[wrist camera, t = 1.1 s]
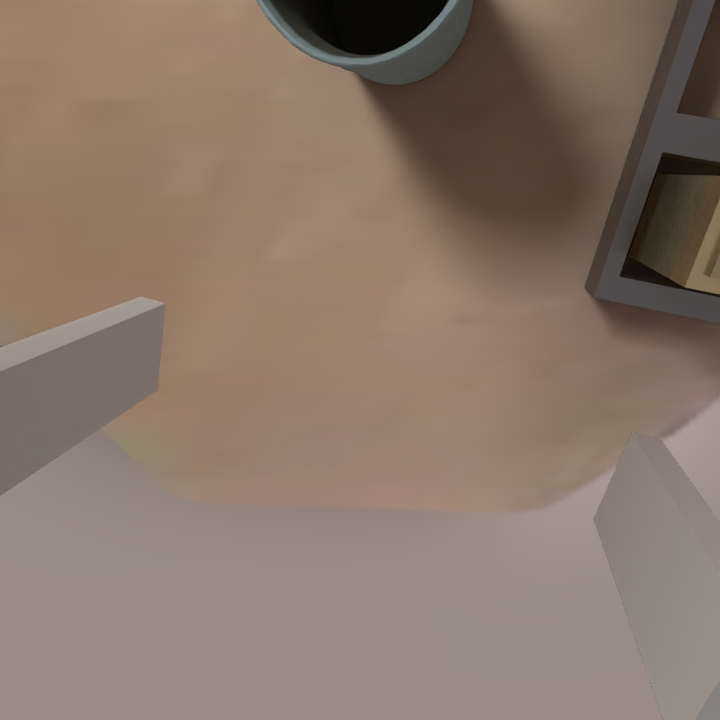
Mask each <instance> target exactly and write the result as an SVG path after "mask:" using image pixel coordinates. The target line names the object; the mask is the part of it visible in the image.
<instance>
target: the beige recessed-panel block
mask: <svg viewBox="0 0 720 720" xmlns="http://www.w3.org/2000/svg"><path fill="white" fill-rule="evenodd" d="M629 256H630V257H632V258H633V259H635V260H637V261H639V262H641V263H642V264H644V265H646V266H648V267H650V268H651V269H653V270H655V271H657V272H658V273H660V274H662V275H664V276H666V277H667V278H669V279H671V280H673V281H674V282H676V283H678V284H680V285H682V286H683V287H686V288H691V289H696V290H701V291H705V292H710V293H715V294H720V176H709V175H674V174H657V177H656V180H655V183H654V186H653V189H652V191H651V194H650V197H649V200H648V203H647V206H646V208H645V211H644V214H643V217H642V220H641V223H640V226H639V228H638V231H637V234H636V237H635V240H634V243H633V246H632V248H631V251H630V254H629Z"/></svg>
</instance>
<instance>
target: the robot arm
mask: <svg viewBox="0 0 720 720" xmlns="http://www.w3.org/2000/svg"><path fill="white" fill-rule="evenodd" d="M165 304H166V303H162V302H158V301H155V300H151V299H148V298H144V297H139V298H136V299H133V300H130V301H128V302H125V303H122V304H119V305H117V306H114V307H111V308H108V309H105V310H103V311H100V312H97V313H94V314H92V315H89V316H86V317H83V318H81V319H78V320H75V321H72V322H69V323H67V324H64V325H61V326H58V327H56V328H53V329H50V330H47V331H45V332H42V333H39V334H36V335H33V336H31V337H28V338H25V339H22V340H20V341H17V342H14V343H11V344H9V345H6V346H1V347H0V496H1V495H2V494H3V493H5V492H6V491H8V490H10V489H11V488H13V487H14V486H16V485H17V484H18V483H20V482H21V481H23V480H24V479H26V478H27V477H29V476H30V475H32V474H33V473H35V472H36V471H38V470H39V469H41V468H42V467H44V466H45V465H47V464H48V463H50V462H51V461H53V460H54V459H56V458H57V457H59V456H60V455H61V454H63V453H64V452H66V451H67V450H69V449H70V448H72V447H73V446H75V445H76V444H78V443H79V442H81V441H82V440H84V439H85V438H87V437H88V436H90V435H91V434H93V433H94V432H96V431H97V430H99V429H100V428H102V427H103V426H105V425H106V424H108V423H109V422H111V421H112V420H114V419H115V418H116V417H118V416H119V415H121V414H122V413H124V412H125V411H127V410H128V409H130V408H131V407H133V406H134V405H136V404H137V403H139V402H140V401H142V400H143V399H145V398H146V397H148V396H149V395H151V394H152V393H154V392H155V391H157V388H158V378H159V367H160V356H161V346H162V335H163V325H164V314H165ZM594 522H595V525H596V528H597V530H598V533H599V536H600V539H601V542H602V545H603V548H604V551H605V554H606V556H607V559H608V562H609V565H610V568H611V571H612V574H613V577H614V580H615V583H616V585H617V588H618V591H619V594H620V597H621V600H622V603H623V605H624V608H625V611H626V614H627V617H628V620H629V623H630V626H631V629H632V632H633V635H634V637H635V640H636V643H637V646H638V649H639V652H640V655H641V658H642V660H643V663H644V666H645V669H646V672H647V675H648V678H649V681H650V684H651V687H652V689H653V692H654V695H655V698H656V701H657V704H658V707H659V710H660V712H661V716H662V718H663V720H720V522H719V521H718V519H717V518H716V516H715V515H714V514H713V512H712V511H711V509H710V508H709V506H708V505H707V504H706V502H705V501H704V499H703V498H702V496H701V495H700V494H699V492H698V491H697V489H696V488H695V487H694V485H693V484H692V482H691V481H690V480H689V478H688V477H687V475H686V474H685V473H684V471H683V470H682V468H681V467H680V465H679V464H678V463H677V461H676V460H675V458H674V457H673V456H672V454H671V453H670V451H669V450H668V448H667V447H666V446H665V444H664V443H663V441H661V440H658V439H654V438H651V437H647V436H643V435H640V434H636V433H631V435H630V438H629V440H628V442H627V445H626V447H625V449H624V451H623V454H622V456H621V458H620V460H619V463H618V465H617V467H616V469H615V472H614V474H613V476H612V479H611V481H610V483H609V485H608V487H607V490H606V492H605V495H604V497H603V499H602V501H601V504H600V506H599V508H598V510H597V512H596V515H595V517H594Z"/></svg>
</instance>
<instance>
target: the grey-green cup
mask: <svg viewBox="0 0 720 720" xmlns="http://www.w3.org/2000/svg"><path fill="white" fill-rule="evenodd" d="M256 1H257V2H258V4H259V6H260V8H261V9H262V11H263V12H264V14H265V15H266V17H267V18H268V20H269V21H270V22H271V23H272V24H273V25H274V27H275V28H276V29H277V30H278V31H279V32H280V33H281V34H282V35H283V36H284V38H286V39H287V40H288V41H289V42H290V43H291V44H292V45H293V46H295V47H296V48H298V49H299V50H301V51H302V52H304V53H305V54H307V55H309V56H311V57H313V58H315V59H317V60H320V61H322V62H325V63H328V64H331V65H334V66H339V67H341V68H343V69H345V70H348V71H352V72H357V73H358V74H359V75H361V76H362V77H364V78H367V79H369V80H372V81H375V82H378V83H382V84H387V85H404V84H409V83H414V82H417V81H419V80H422V79H424V78H426V77H428V76H429V75H431V74H433V73H434V72H436V71H437V70H439V69H440V68H441V67H442V66H443V65H444V64H445V63H446V62H447V61H448V60H449V59H450V58H451V57H452V55H453V54H454V52H455V51H456V50H457V48H458V46H459V45H460V43H461V41H462V40H463V37H464V35H465V33H466V30H467V28H468V24H469V21H470V17H471V12H472V7H473V0H256Z"/></svg>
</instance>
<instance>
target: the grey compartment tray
mask: <svg viewBox="0 0 720 720" xmlns="http://www.w3.org/2000/svg"><path fill="white" fill-rule="evenodd" d="M714 3H715V0H679V1H678V4H677V7H676V10H675V13H674V16H673V19H672V22H671V25H670V28H669V31H668V34H667V37H666V41H665V44H664V47H663V50H662V53H661V56H660V59H659V62H658V65H657V68H656V71H655V74H654V77H653V80H652V83H651V86H650V89H649V92H648V95H647V98H646V101H645V105H644V108H643V111H642V114H641V117H640V120H639V123H638V126H637V129H636V132H635V135H634V138H633V141H632V144H631V147H630V150H629V153H628V156H627V159H626V162H625V166H624V169H623V172H622V175H621V178H620V181H619V184H618V187H617V190H616V193H615V196H614V199H613V202H612V205H611V208H610V211H609V214H608V217H607V220H606V223H605V226H604V230H603V233H602V236H601V239H600V242H599V245H598V248H597V251H596V254H595V257H594V260H593V263H592V266H591V269H590V272H589V275H588V278H587V281H586V284H585V289H586V290H587V291H588V292H589V293H590V294H591V295H592V296H593V297H595V298H599V299H604V300H609V301H614V302H618V303H623V304H628V305H633V306H637V307H642V308H647V309H651V310H656V311H661V312H666V313H670V314H675V315H680V316H685V317H689V318H694V319H699V320H704V321H708V322H713V323H718V324H720V294H715V293H710V292H705V291H701V290H696V289H691V288H686V287H683V286H682V285H680V284H678V283H676V282H673V281H668V280H663V279H658V278H653V277H648V276H644V275H639V274H634V273H629V272H624V271H621V270H622V267H623V264H624V261H625V258H626V255H627V253H628V250H629V247H630V244H631V241H632V238H633V235H634V232H635V230H636V227H637V224H638V221H639V218H640V215H641V212H642V210H643V207H644V204H645V201H646V198H647V195H648V192H649V189H650V187H651V184H652V181H653V178H654V175H655V172H656V169H657V166H658V164H659V161H660V158H661V156H663V157H669V158H675V159H680V160H686V161H691V162H697V163H703V164H708V165H714V166H719V167H720V120H717V119H711V118H705V117H699V116H693V115H687V114H681V113H676V112H677V109H678V106H679V103H680V100H681V98H682V95H683V92H684V89H685V86H686V83H687V80H688V78H689V75H690V72H691V69H692V66H693V63H694V60H695V57H696V55H697V52H698V49H699V46H700V43H701V40H702V37H703V34H704V32H705V29H706V26H707V23H708V20H709V17H710V14H711V11H712V9H713V6H714Z"/></svg>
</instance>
